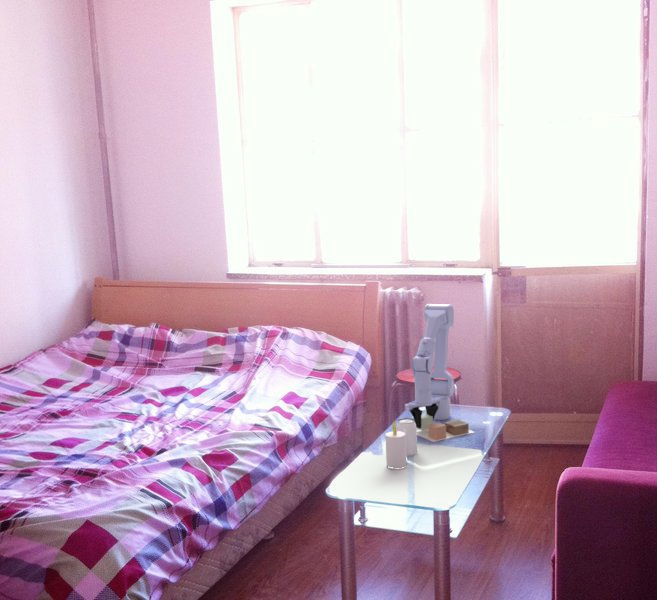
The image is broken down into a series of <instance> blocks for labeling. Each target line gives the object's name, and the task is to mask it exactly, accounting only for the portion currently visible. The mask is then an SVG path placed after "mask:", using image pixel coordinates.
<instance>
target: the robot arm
mask: <svg viewBox="0 0 657 600" xmlns="http://www.w3.org/2000/svg"><path fill="white" fill-rule="evenodd" d="M423 313H424V317H425V318H424V319H425V322H426V326H425V332H424V337H423V338H422V339H420V341H419V345H418V348H417V351H416V355H415V356H414V357H413V358H412V359H411V366H410V367H411V371H412V376H413V378H414V399H415V400H413V401H410V402H408V403H405V404H404V410H406V411H409V412H410V413H411V414H410V415H411V416H412V417H413V418H412V419H414V420H415V424H416V427H417V428H416V429H418V428H421V415H422V414H423V410H422V409H420V408H425V410H426V411H425V412H426V413H425V414H428V415H430V416H433V421H435V420H437V421H441V420H442V421H443V420H445V421H446V420H449V419H451V416H452V415H451V397H452V396H453V395H454V392H455V378H454V376H453V375H452V374H451V373H450V372H449V371H448V349H449V347H448V345H449V330H450V328H451V327H453V325H454V318H455V317H454V315H455V312H454V307H453V305H452V304H451V303H448V304H445V303H444V304H440V303H439V304H437V303H434V304H433V303H427V304H426V305H425V307H424V312H423ZM432 370H433V371H432Z"/></svg>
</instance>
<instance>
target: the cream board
mask: <svg viewBox="0 0 657 600" xmlns="http://www.w3.org/2000/svg"><path fill="white" fill-rule="evenodd" d="M442 424H443V425H445V423H442ZM473 433H474V434H475V431H473V430H471V429H469V433H464V434H460V435H452V434H450V433H448V432H446V438H443V439H439V440H434V439H432V438H430V437H429V435H428V430H424V431H422V430H420V429H416V434H417V436H419V437H421V438H423V439H426V440H428V441H430V442H433V443H434V442H439V441H443V440H448V439H452V438H455V437H456V438H457V437H461V436H465V435H469V434H473Z"/></svg>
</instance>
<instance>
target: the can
mask: <svg viewBox="0 0 657 600" xmlns="http://www.w3.org/2000/svg"><path fill="white" fill-rule="evenodd" d="M396 430H397V431H401V432H404V433H405V440H406V457H410V456H415V455H417V454H418V439H417V437H418V435H417V434H416V430H417V428H416V424H415V420H414V418H410V417H403V418H398V420H397V423H396Z"/></svg>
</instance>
